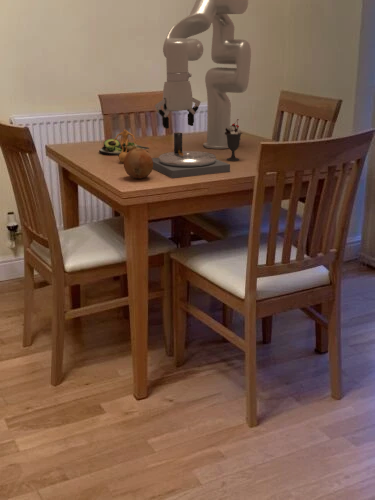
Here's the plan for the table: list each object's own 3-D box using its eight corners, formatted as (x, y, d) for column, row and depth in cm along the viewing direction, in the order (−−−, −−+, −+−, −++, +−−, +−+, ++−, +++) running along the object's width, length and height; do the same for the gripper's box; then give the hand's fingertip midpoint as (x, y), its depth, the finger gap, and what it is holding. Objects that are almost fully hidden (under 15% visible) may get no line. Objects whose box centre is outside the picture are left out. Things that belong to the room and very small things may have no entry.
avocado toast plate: (152, 148, 265) (152, 137, 263) (145, 157, 248) (145, 145, 246) (106, 147, 266) (106, 136, 265) (96, 156, 250) (95, 144, 248)
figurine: (111, 163, 235) (110, 130, 231) (116, 160, 241) (115, 128, 237) (133, 164, 234) (132, 131, 230) (138, 161, 239) (137, 128, 235)
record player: (150, 158, 231) (150, 134, 228) (200, 153, 239) (200, 130, 236) (173, 168, 214) (172, 143, 211) (225, 163, 221) (226, 138, 219)
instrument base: (200, 159, 241) (201, 152, 240) (230, 171, 222) (230, 163, 221) (146, 165, 232) (146, 158, 231) (172, 178, 213) (172, 170, 212)
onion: (151, 174, 219) (151, 145, 215) (155, 181, 209) (154, 150, 206) (123, 175, 217) (122, 146, 214) (125, 182, 208) (124, 151, 204)
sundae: (243, 158, 243) (244, 118, 238) (239, 162, 237) (240, 121, 232) (227, 157, 245) (227, 117, 240) (222, 160, 239) (222, 120, 234)
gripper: (194, 75, 230) (195, 122, 236) (150, 78, 223) (152, 127, 229) (204, 77, 224) (204, 126, 230) (159, 80, 217) (160, 130, 223)
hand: (178, 126), depth 230 cm, fingers open, 9 cm apart
